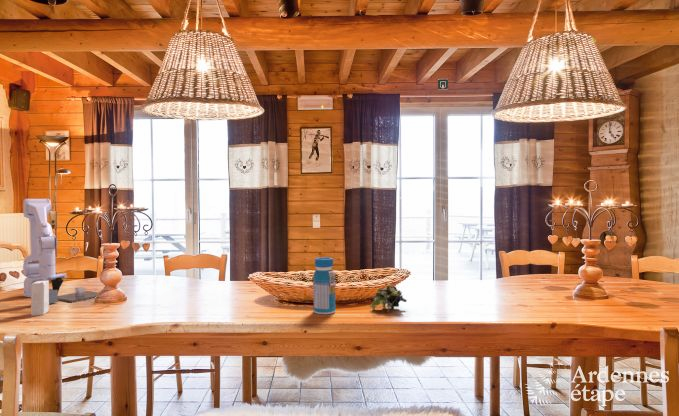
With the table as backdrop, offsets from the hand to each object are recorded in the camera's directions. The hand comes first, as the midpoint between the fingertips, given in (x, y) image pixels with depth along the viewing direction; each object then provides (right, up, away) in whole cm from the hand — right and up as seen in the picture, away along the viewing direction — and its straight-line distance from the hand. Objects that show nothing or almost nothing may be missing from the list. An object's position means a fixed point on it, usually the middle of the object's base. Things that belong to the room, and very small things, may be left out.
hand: (47, 297), depth 188 cm
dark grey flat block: (+6, -2, +13) cm, 14 cm away
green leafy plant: (+139, -1, -18) cm, 141 cm away
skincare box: (+8, -3, -18) cm, 20 cm away
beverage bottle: (+115, -2, -20) cm, 117 cm away
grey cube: (0, -2, 0) cm, 2 cm away
